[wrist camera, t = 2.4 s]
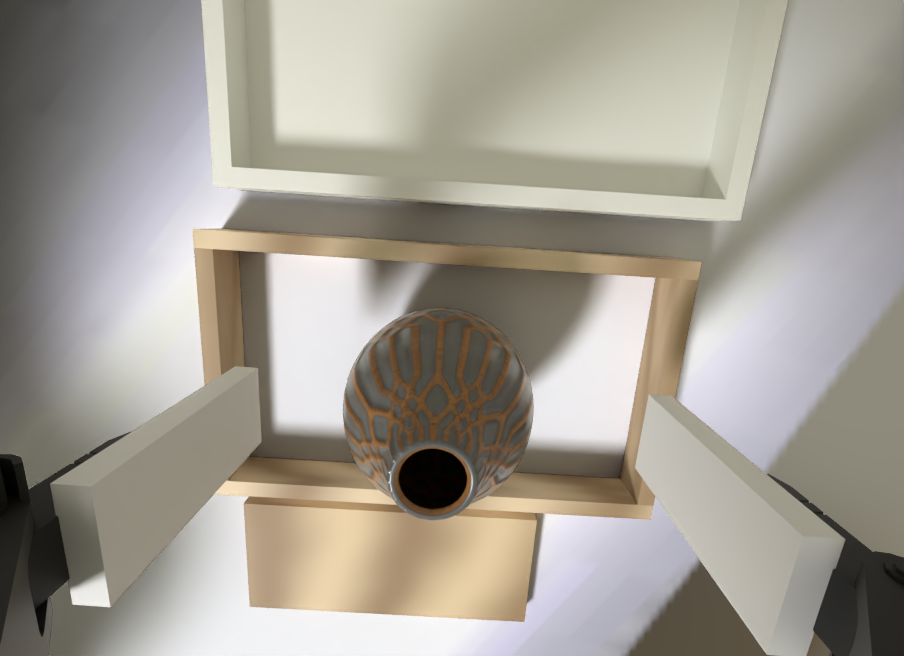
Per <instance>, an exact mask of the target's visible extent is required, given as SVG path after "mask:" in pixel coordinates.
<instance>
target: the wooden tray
mask: <svg viewBox="0 0 904 656" xmlns="http://www.w3.org/2000/svg"><path fill="white" fill-rule="evenodd" d="M193 240H194V253H195V266H196V279H197V292H198V304H199V317H200V330H201V343H202V356H203V369H204V382H205V385H207V384H208V383H210V382H211V381H213V380H214V379H216V378H218V377H219V376H221V375H222V374H224V373H226V372H227V371H229V370H230V369H232V368H233V367H235V366H239V367H245V362H244V343H243V324H242V306H241V287H240V269H239V251H251V252H266V253H282V254H297V255H313V256H328V257H344V258H360V259H375V260H391V261H406V262H422V263H438V264H453V265H469V266H484V267H500V268H515V269H531V270H547V271H562V272H578V273H593V274H609V275H625V276H640V277H656V279H655V284H654V290H653V296H652V301H651V307H650V313H649V319H648V324H647V330H646V336H645V341H644V347H643V353H642V358H641V364H640V370H639V375H638V381H637V387H636V392H635V398H634V404H633V409H632V415H631V421H630V427H629V432H628V438H627V444H626V449H625V455H624V461H623V466H622V472H621V478H620V479H617V478H600V477H583V476H566V475H549V474H532V473H515V472H512V474H511V475H510V476H509V478H508V479H507V480H506V481H505V482H504V483H503V484H502V485H501V486H500V487H499V488H497V489H496V490H495V491H494V492H492V493H491V494H490V495H488V496H486V497H485V498H483V499H481V500H480V501H477V502H475V503H473V504H470V505H469V506H468V507H467V508H466V509H477V510H494V511H511V512H528V513H546V514H563V515H580V516H597V517H615V518H632V519H649V520H651V515H652V510H653V505H654V500H655V495H654V494H653V493H652V491H651V490H650V488H649V487H648V486H647V484H646V483H645V481H644V480H643V478H642V477H641V476H640V474H639V473H638V471H637V470H636V469H635V465H636V459H637V454H638V449H639V443H640V438H641V433H642V427H643V422H644V417H645V411H646V406H647V401H648V395H649V394H651V395H666V396H672V397H674V398H675V395H676V390H677V385H678V380H679V375H680V370H681V365H682V360H683V355H684V350H685V345H686V340H687V335H688V330H689V325H690V320H691V315H692V310H693V305H694V300H695V295H696V290H697V285H698V280H699V275H700V270H701V265H702V262H699V261H692V260H685V259H678V258H666V257H651V256H635V255H620V254H605V253H589V252H574V251H558V250H543V249H527V248H512V247H496V246H481V245H466V244H450V243H435V242H419V241H404V240H388V239H373V238H357V237H342V236H326V235H311V234H296V233H280V232H265V231H249V230H234V229H193ZM215 494H218V495H235V496H252V497H270V498H287V499H304V500H321V501H339V502H356V503H373V504H390V505H397V504H396V503H395V502H394V500H393V499H392V498H390V497H388V496H387V495H385V494H384V493H382V492H381V491H380V490H378V489H377V488H376V487H375V486H374V485H373V484H372V483H371V482H370V481H369V480H368V479H367V478H366V476H365V475H364V474H363V473H362V471H361V470H360V468H359V467H358V465H357V463H345V462H328V461H311V460H294V459H277V458H260V457H250V455H249V456H248V457H247V459H246V460H245V461H244V462H243V463H242V464H241V465H240V466H239V467H238V468H237V469H236V471H235V472H234V473H233V474H232V475H231V476H230V477H229V478H228V479H227V480H226V481H225V483H224V484H223V485H222V486H221V487H220V488H219V489H218V490H217V491H216V492H215Z"/></svg>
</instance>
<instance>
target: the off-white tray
mask: <svg viewBox="0 0 904 656" xmlns="http://www.w3.org/2000/svg"><path fill="white" fill-rule="evenodd" d="M201 3H202V18H203V34H204V49H205V64H206V80H207V95H208V110H209V126H210V141H211V157H212V172H213V186H217V187H223V188H229V189H235V190H241V191H255V192H270V193H285V194H300V195H316V196H331V197H346V198H361V199H376V200H392V201H407V202H422V203H437V204H453V205H468V206H483V207H498V208H513V209H529V210H544V211H559V212H574V213H590V214H605V215H620V216H635V217H650V218H666V219H681V220H696V221H741V217H742V212H743V207H744V203H745V198H746V193H747V189H748V184H749V180H750V175H751V170H752V166H753V161H754V156H755V152H756V147H757V143H758V138H759V133H760V129H761V124H762V119H763V115H764V110H765V106H766V101H767V96H768V92H769V87H770V82H771V78H772V73H773V68H774V64H775V59H776V55H777V50H778V45H779V41H780V36H781V31H782V27H783V22H784V18H785V13H786V8H787V4H788V0H201Z"/></svg>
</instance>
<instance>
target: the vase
mask: <svg viewBox="0 0 904 656" xmlns="http://www.w3.org/2000/svg"><path fill="white" fill-rule="evenodd" d="M343 419H344V428H345V434H346V438H347V442H348V445H349V448H350V451H351V453H352V455H353V458H354V460H355V462H356V463H357V465H358V467H359V468H360V470H361V471H362V473H363V474H364V475H365V476H366V478H367V479H368V480H369V481H370V482H371V483H372V484H373V485H374V486H375V487H376V488H377V489H378V490H380V491H381V492H382V493H384V494H385V495H387V496H388V497H390V498H392V499H393V500H394V502H395V503H396V504H397V505H398V506H399V507H400V508H401V509H402V510H403V511H405V512H406V513H408V514H410V515H412V516H414V517H417V518H420V519H424V520H443V519H447V518H450V517H453V516H455V515H457V514H459V513H460V512H462V511H463V510H464V509H466V508H467V507H468V506H469V505H470V504H473V503H475V502H477V501H480V500H481V499H483V498H485V497H486V496H488V495H490V494H491V493H492V492H494V491H495V490H496V489H497V488H499V487H500V486H501V485H502V484H503V483H504V482H505V481H506V480H507V479H508V478H509V476H510V475H511V474H512V472H513V471H514V470H515V468H516V467H517V465H518V463H519V462H520V460H521V458H522V456H523V454H524V451H525V449H526V446H527V444H528V440H529V437H530V433H531V428H532V421H533V394H532V387H531V383H530V379H529V376H528V373H527V371H526V368H525V366H524V364H523V362H522V360H521V358H520V356H519V354H518V353H517V351H516V350H515V348H514V347H513V345H512V344H511V343H510V342H509V340H508V339H507V338H506V337H505V336H504V335H503V334H502V333H501V332H500V331H499V330H498V329H496V328H495V327H494V326H493V325H491V324H490V323H488V322H487V321H485V320H483V319H482V318H480V317H478V316H475V315H473V314H470V313H468V312H464V311H460V310H456V309H449V308H430V309H423V310H418V311H415V312H411V313H408V314H406V315H404V316H401V317H399V318H397V319H396V320H394V321H392V322H391V323H389V324H388V325H386V326H385V327H384V328H382V329H381V330H380V331H379V332H378V333H377V334H375V335H374V337H373V338H372V339H371V340H370V341H369V342H368V343H367V344H366V346H365V347H364V348H363V349H362V351H361V352H360V354H359V356H358V357H357V359H356V361H355V363H354V365H353V367H352V369H351V371H350V374H349V377H348V380H347V384H346V388H345V393H344V403H343Z"/></svg>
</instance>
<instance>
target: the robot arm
mask: <svg viewBox="0 0 904 656" xmlns="http://www.w3.org/2000/svg"><path fill="white" fill-rule="evenodd" d="M261 442H262V438H261V418H260V397H259V377H258V368H254V367H239V366H235V367H233V368H232V369H230V370H229V371H227V372H226V373H224V374H222V375H221V376H219V377H218V378H216V379H214V380H213V381H211V382H210V383H208V384H207V385H205V386H203V387H202V388H200V389H199V390H197V391H196V392H194V393H192V394H191V395H189V396H188V397H186V398H184V399H183V400H181V401H180V402H178V403H177V404H175V405H173V406H172V407H170V408H169V409H167V410H166V411H164V412H162V413H161V414H159V415H158V416H156V417H154V418H153V419H151V420H150V421H148V422H147V423H145V424H143V425H142V426H140V427H139V428H137V429H135V430H134V431H132V432H129V433H127V434H124V435H122V436H119V437H117V438H114V439H111V440H109V441H107V442H105V443H104V444H102V445H101V446H99V447H97V448H96V449H94V450H92V451H91V452H90V454H86V455H84V456H83V457H81V458H79V459H78V460H76V461H75V462H74V464H70V465H68V466H66V467H65V468H63V469H62V470H60V471H58V472H57V473H55V474H53V475H52V476H50V477H49V478H47V479H45V480H44V481H42V482H41V483H39V484H37V485H36V486H34V487H32V488H31V489H29V490H28V486H27V481H26V476H25V471H24V466H23V462H22V459H21V457H18V456H15V455H9V454H0V656H48V653H49V643H50V633H51V623H52V613H53V610H52V605H51V600H50V596H51V595H52V594H53V593H54V592H55V591H56V590H57V589H58V588H60V587H61V586H62V585H63V584H64V583H65V582H66V581H67V580H68V583H69V589H70V594H71V599H72V605H85V606H98V607H111V606H112V605H113V604H114V603H115V602H116V601H117V600H118V598H119V597H120V596H121V595H122V594H123V593H124V592H125V591H126V590H127V589H128V588H129V586H130V585H131V584H132V583H133V582H134V581H135V580H136V579H137V578H138V577H139V576H140V574H141V573H142V572H143V571H144V570H145V569H146V568H147V567H148V566H149V565H150V563H151V562H152V561H153V560H154V559H155V558H156V557H157V556H158V555H159V554H160V553H161V551H162V550H163V549H164V548H165V547H166V546H167V545H168V544H169V543H170V542H171V541H172V539H173V538H174V537H175V536H176V535H177V534H178V533H179V532H180V531H181V530H182V528H183V527H184V526H185V525H186V524H187V523H188V522H189V521H190V520H191V519H192V518H193V516H194V515H195V514H196V513H197V512H198V511H199V510H200V509H201V508H202V507H203V506H204V504H205V503H206V502H207V501H208V500H209V499H210V498H211V497H212V496H213V495H214V494H215V492H216V491H217V490H218V489H219V488H220V487H221V486H222V485H223V484H224V483H225V481H226V480H227V479H228V478H229V477H230V476H231V475H232V474H233V473H234V472H235V471H236V469H237V468H238V467H239V466H240V465H241V464H242V463H243V462H244V461H245V460H246V459H247V457H248V456H249V455H250V454H251V453H252V452H253V451H254V450H255V449H256V448H257V446H258V445H259V444H260V443H261ZM635 469H636V470H637V471H638V473H639V474H640V476H641V477H642V478H643V480H644V481H645V483H646V484H647V486H648V487H649V488H650V490H651V491H652V493H653V494H654V495H655V497H656V498H657V500H658V501H659V503H660V504H661V505H662V507H663V508H664V510H665V511H666V512H667V514H668V515H669V517H670V518H671V520H672V521H673V522H674V524H675V525H676V527H677V528H678V529H679V531H680V532H681V534H682V535H683V537H684V538H685V539H686V541H687V542H688V544H689V545H690V546H691V548H692V549H693V551H694V552H695V554H696V555H697V556H698V558H699V559H700V561H701V562H702V563H703V565H704V566H705V568H706V569H707V570H708V572H709V573H710V575H711V576H712V577H713V579H714V580H715V582H716V583H717V585H718V586H719V588H720V589H721V590H722V592H723V593H724V595H725V596H726V597H727V599H728V600H729V602H730V603H731V604H732V606H733V607H734V609H735V610H736V612H737V613H738V614H739V616H740V617H741V619H742V620H743V622H745V624H746V626H747V627H748V628H749V630H750V631H751V633H752V634H753V636H754V637H755V639H756V640H757V641H758V643H759V644H760V646H761V647H762V648H763V650H764V651H765V653H766V654H767V655H778V656H806V655H807V652H808V649H809V646H810V643H811V640H812V637H813V634H814V632H815V633H816V634H817V635H818V637H819V638H820V639H821V640H822V641H823V642H824V644H825V645H826V646H827V647H828V648H829V649H830V651H831V652H830V654H829V656H904V558H903V557H899V556H896V555H893V554H890V553H882V552H876V551H875V552H872V551H871V550H870V549H868V548H867V547H866V546H865V545H863V544H862V543H861V542H860V541H858V540H857V539H856V538H855V537H853V536H852V535H851V534H850V533H848V532H847V531H846V530H845V529H843V528H842V527H841V526H840V525H839V524H837V523H836V522H835V521H834V520H832V519H831V518H830V517H828V516H827V515H823V512H822V511H821V510H820V509H818V508H817V507H816V506H815V505H814V504H812V503H809V502H808V500H807V499H806V498H805V497H803V496H802V495H801V494H800V493H799V492H797V491H796V490H795V489H794V488H792V487H791V486H789V485H787V484H785V483H784V482H782V481H780V480H778V479H776V478H775V477H773V476H771V475H769V474H766V473H764V472H763V471H762V470H761V469H760V468H758V467H757V466H756V465H755V464H754V463H752V462H751V461H750V460H749V459H747V458H746V457H745V456H744V455H743V454H741V453H740V452H739V451H738V450H737V449H735V448H734V447H733V446H732V445H731V444H729V443H728V442H727V441H726V440H724V439H723V438H722V437H721V436H720V435H718V434H717V433H716V432H715V431H714V430H712V429H711V428H710V427H709V426H708V425H706V424H705V423H704V422H703V421H701V420H700V419H699V418H698V417H697V416H695V415H694V414H693V413H692V412H691V411H689V410H688V409H687V408H686V407H685V406H683V405H682V404H681V403H680V402H678V401H677V400H676V399H675V398H674V397H672V396H666V395H651V394H649V395H648V401H647V406H646V411H645V417H644V422H643V427H642V433H641V438H640V443H639V449H638V454H637V459H636V465H635Z"/></svg>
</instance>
